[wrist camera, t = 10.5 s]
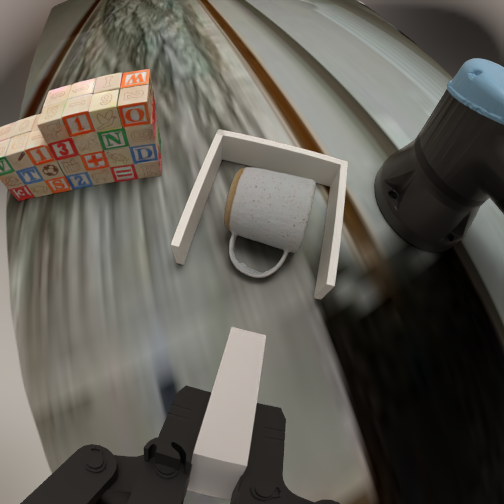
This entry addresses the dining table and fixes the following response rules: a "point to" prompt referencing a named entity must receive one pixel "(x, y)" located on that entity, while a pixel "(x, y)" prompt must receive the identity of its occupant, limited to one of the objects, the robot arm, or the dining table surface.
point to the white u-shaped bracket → (276, 160)
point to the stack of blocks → (84, 137)
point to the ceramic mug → (268, 212)
